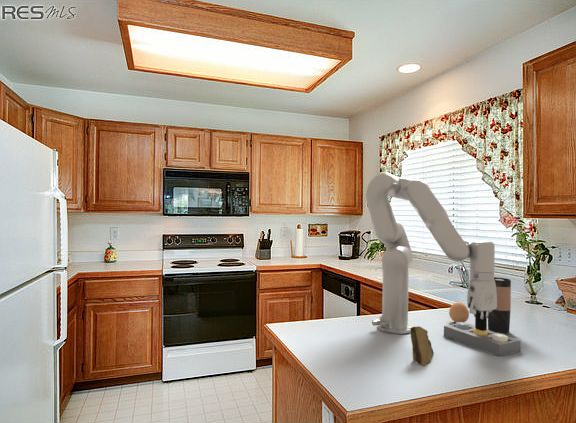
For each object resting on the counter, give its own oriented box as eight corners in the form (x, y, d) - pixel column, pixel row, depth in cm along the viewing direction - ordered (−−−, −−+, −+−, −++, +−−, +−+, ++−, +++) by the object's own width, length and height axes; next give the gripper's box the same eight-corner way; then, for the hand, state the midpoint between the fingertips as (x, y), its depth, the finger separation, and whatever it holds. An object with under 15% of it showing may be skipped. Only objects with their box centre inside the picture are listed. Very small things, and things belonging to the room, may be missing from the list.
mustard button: (481, 341, 124) (482, 332, 124) (470, 337, 128) (470, 328, 128) (490, 339, 126) (490, 330, 126) (478, 335, 130) (478, 326, 130)
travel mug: (513, 334, 137) (514, 281, 137) (491, 332, 138) (492, 280, 139) (505, 328, 144) (506, 277, 145) (484, 326, 146) (485, 276, 146)
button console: (499, 356, 115) (499, 344, 115) (443, 335, 134) (443, 325, 134) (520, 351, 120) (520, 340, 120) (464, 332, 138) (464, 322, 139)
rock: (423, 342, 119) (398, 340, 116) (438, 325, 115) (412, 323, 111) (440, 373, 111) (414, 372, 107) (457, 357, 107) (430, 356, 103)
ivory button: (502, 348, 117) (502, 338, 117) (489, 344, 121) (489, 334, 121) (510, 346, 119) (510, 336, 119) (497, 342, 123) (497, 332, 123)
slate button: (463, 335, 130) (463, 326, 130) (453, 331, 134) (453, 322, 134) (471, 333, 132) (472, 324, 132) (461, 330, 136) (461, 321, 136)
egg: (471, 326, 146) (472, 304, 146) (452, 325, 147) (452, 303, 147) (464, 321, 154) (465, 300, 154) (446, 320, 154) (447, 299, 154)
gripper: (477, 279, 120) (476, 335, 120) (505, 277, 127) (504, 330, 127) (457, 275, 127) (456, 329, 127) (485, 273, 134) (484, 324, 133)
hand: (480, 329), depth 127 cm, fingers closed
